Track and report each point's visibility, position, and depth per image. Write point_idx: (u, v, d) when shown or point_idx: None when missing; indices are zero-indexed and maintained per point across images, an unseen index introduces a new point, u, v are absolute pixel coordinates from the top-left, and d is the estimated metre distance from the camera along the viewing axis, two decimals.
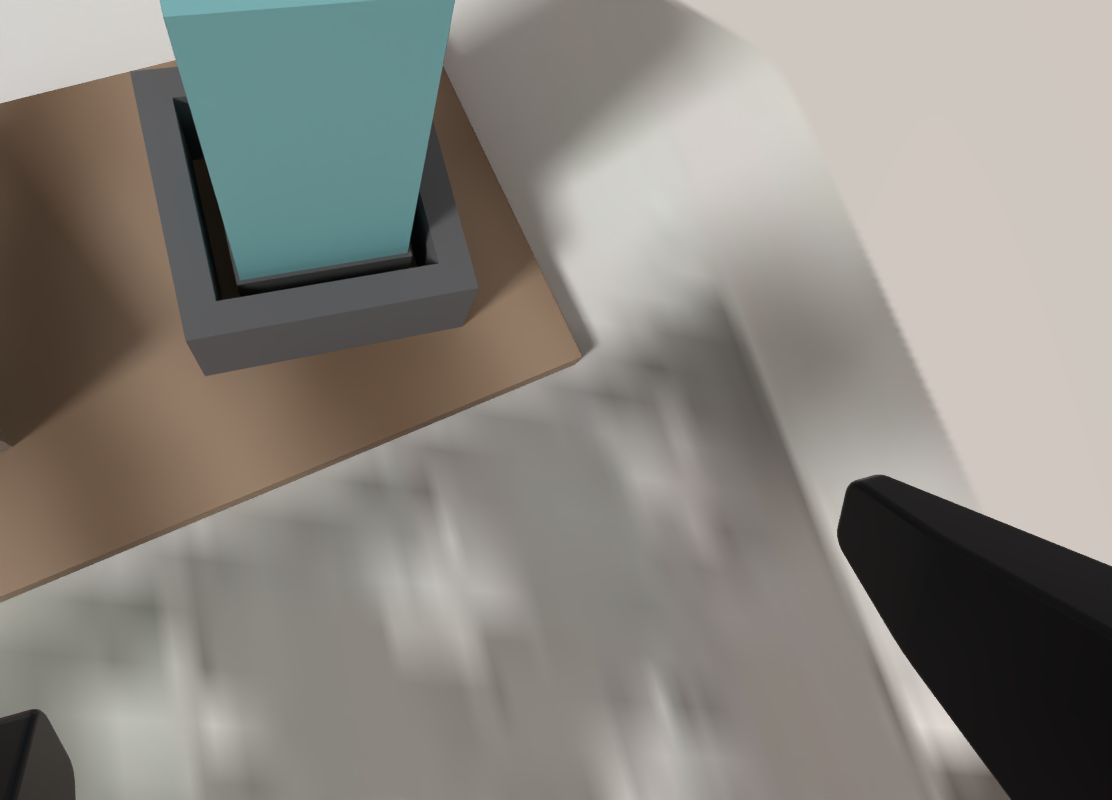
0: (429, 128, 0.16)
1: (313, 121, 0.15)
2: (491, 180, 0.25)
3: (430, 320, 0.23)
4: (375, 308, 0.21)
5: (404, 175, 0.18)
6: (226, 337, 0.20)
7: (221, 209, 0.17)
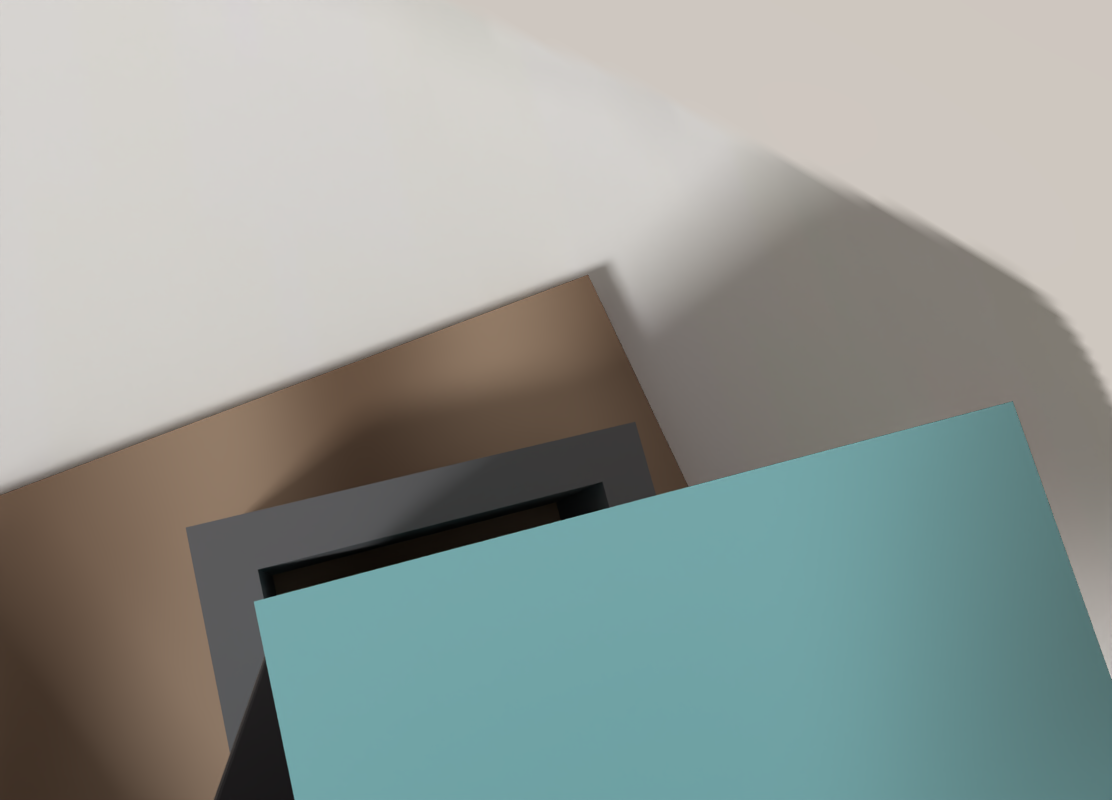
0: None
1: None
2: None
3: None
4: None
5: None
6: None
7: None
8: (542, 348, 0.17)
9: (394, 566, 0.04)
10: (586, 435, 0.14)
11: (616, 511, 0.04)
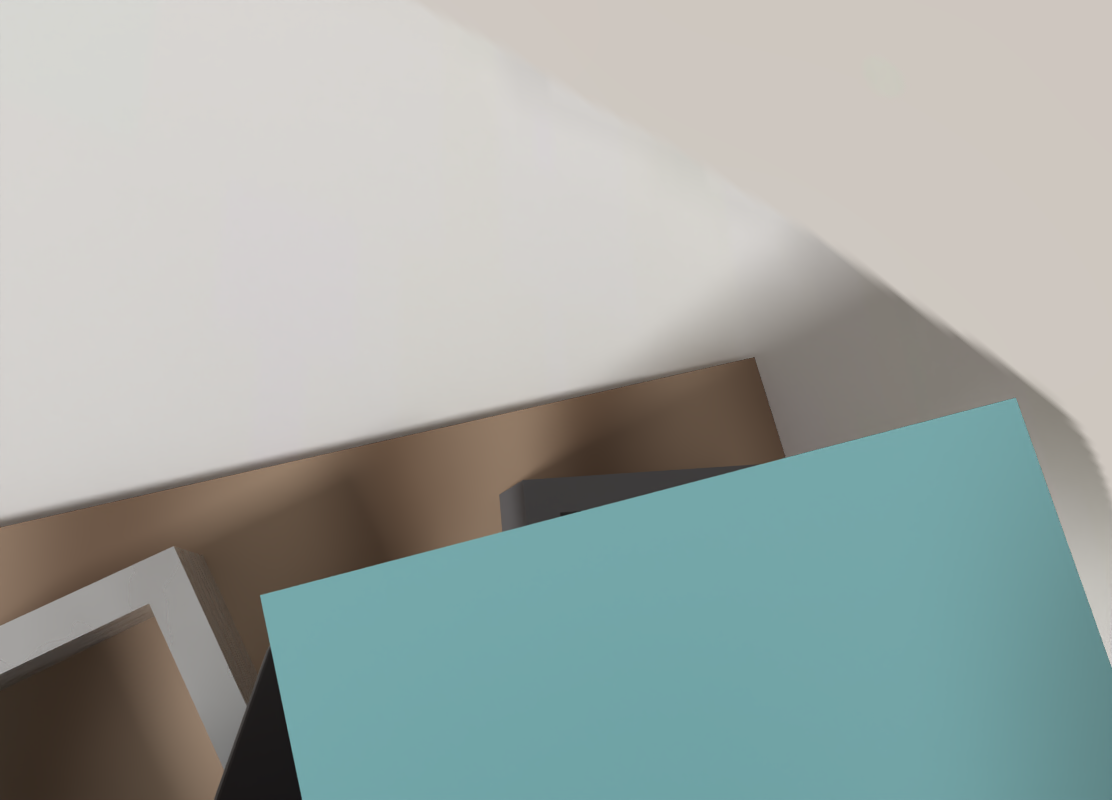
0: None
1: None
2: None
3: None
4: None
5: None
6: None
7: None
8: (718, 403, 0.25)
9: (399, 561, 0.04)
10: None
11: (620, 506, 0.04)
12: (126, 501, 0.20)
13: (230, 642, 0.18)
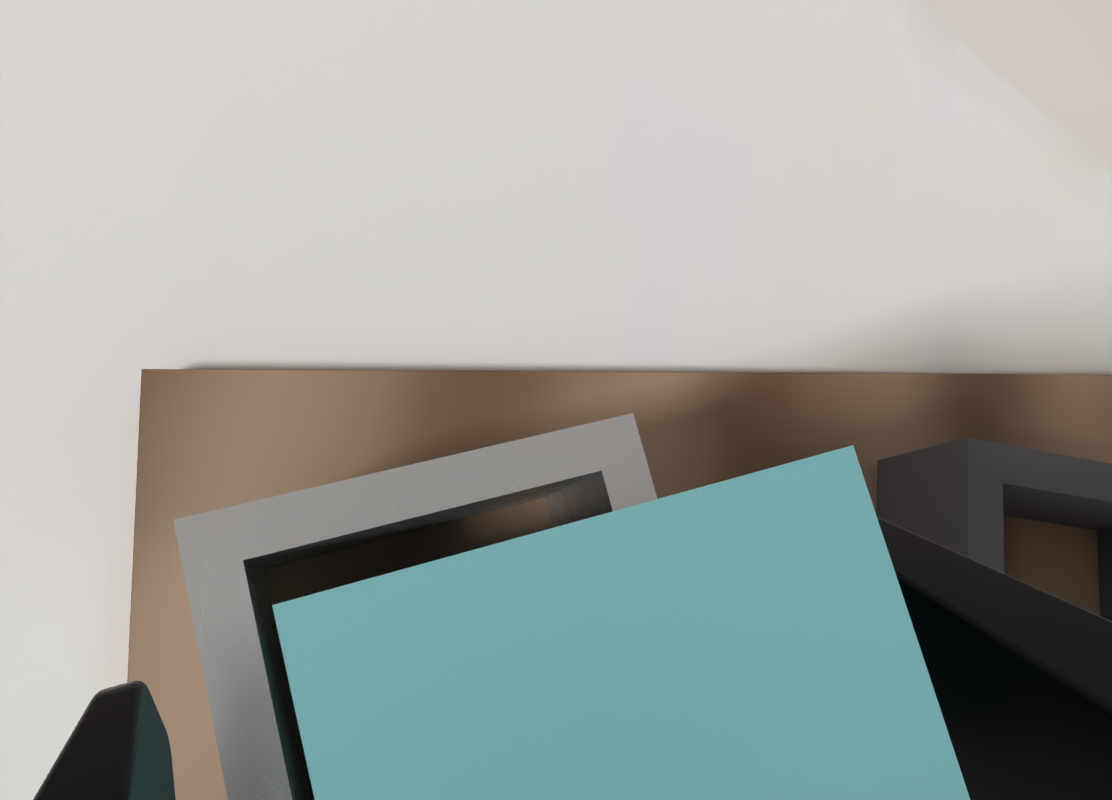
0: None
1: None
2: None
3: None
4: None
5: None
6: None
7: None
8: (1109, 415, 0.22)
9: (372, 579, 0.05)
10: None
11: (538, 536, 0.05)
12: (501, 374, 0.18)
13: None
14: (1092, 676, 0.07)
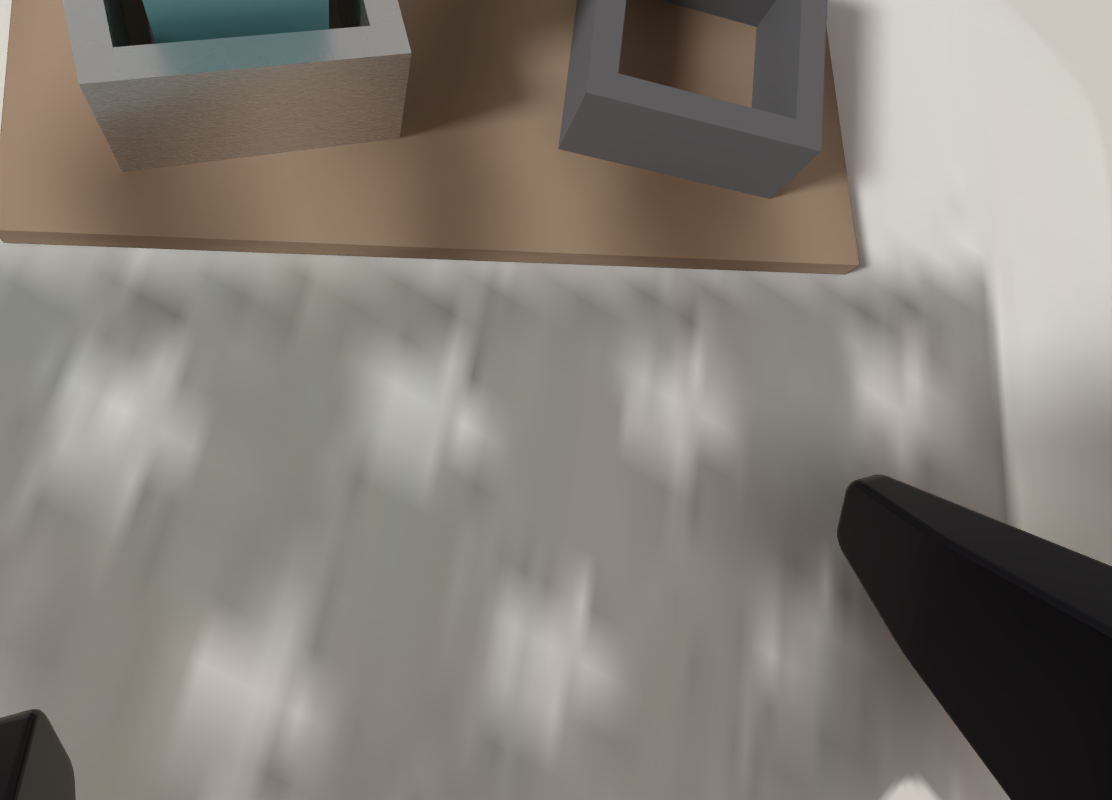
0: None
1: None
2: (831, 96, 0.28)
3: (756, 175, 0.26)
4: (734, 132, 0.24)
5: None
6: (612, 106, 0.23)
7: None
8: None
9: None
10: None
11: None
12: None
13: None
14: None
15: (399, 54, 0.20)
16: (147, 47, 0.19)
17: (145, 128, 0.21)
